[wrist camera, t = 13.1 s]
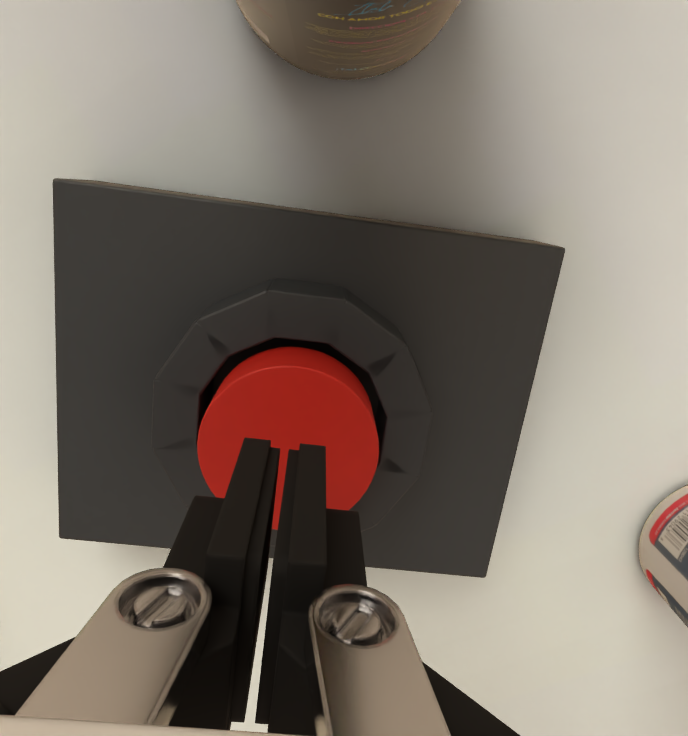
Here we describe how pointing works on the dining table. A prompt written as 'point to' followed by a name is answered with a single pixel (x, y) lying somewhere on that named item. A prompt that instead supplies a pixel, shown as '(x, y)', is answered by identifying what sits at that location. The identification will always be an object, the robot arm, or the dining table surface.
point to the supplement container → (347, 32)
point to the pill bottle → (668, 551)
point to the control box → (290, 329)
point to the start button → (292, 421)
